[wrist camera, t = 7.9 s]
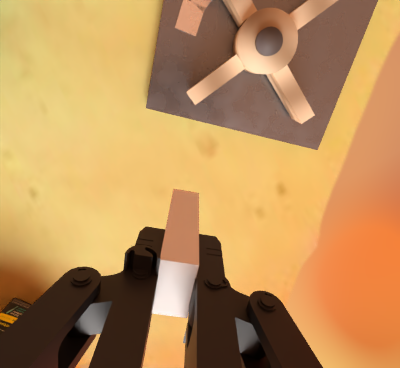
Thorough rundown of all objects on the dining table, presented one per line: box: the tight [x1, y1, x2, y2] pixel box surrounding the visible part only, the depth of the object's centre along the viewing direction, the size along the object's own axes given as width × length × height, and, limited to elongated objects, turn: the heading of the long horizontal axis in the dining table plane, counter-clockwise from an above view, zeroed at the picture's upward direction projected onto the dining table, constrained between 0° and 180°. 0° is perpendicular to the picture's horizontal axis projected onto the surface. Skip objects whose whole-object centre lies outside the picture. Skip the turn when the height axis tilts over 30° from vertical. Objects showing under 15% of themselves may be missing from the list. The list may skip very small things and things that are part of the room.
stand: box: [146, 0, 378, 150], centre depth 32 cm, size 22×19×2 cm
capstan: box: [186, 0, 338, 124], centre depth 28 cm, size 18×19×7 cm
